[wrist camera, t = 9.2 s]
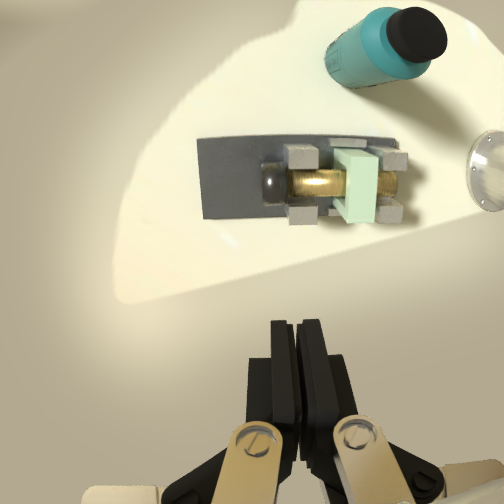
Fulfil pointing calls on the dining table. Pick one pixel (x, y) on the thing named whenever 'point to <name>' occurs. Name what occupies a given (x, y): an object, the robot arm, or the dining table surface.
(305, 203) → the rig
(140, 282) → the dining table surface
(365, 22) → the beverage bottle
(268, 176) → the shaft
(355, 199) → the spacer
